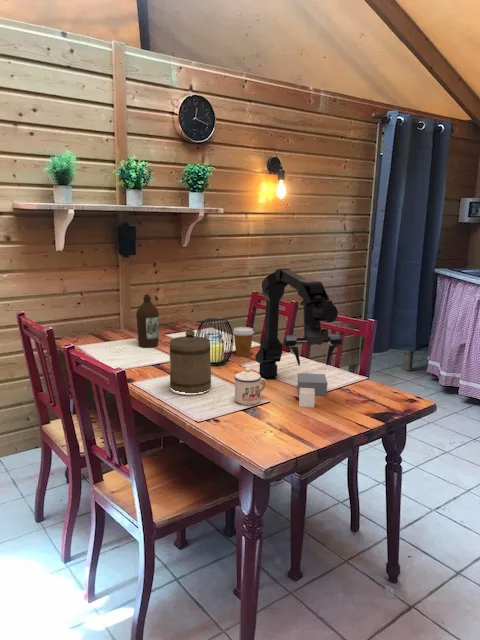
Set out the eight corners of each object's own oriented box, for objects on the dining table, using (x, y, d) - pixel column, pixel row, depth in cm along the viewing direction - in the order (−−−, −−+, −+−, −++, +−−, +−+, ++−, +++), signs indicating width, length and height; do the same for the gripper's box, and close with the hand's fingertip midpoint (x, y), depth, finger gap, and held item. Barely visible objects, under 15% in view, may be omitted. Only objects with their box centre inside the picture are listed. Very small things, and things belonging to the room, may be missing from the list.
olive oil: (133, 345, 240) (131, 294, 235) (151, 341, 247) (150, 291, 242) (145, 349, 233) (143, 296, 227) (164, 345, 240) (162, 294, 235)
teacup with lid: (242, 407, 165) (242, 374, 162) (229, 398, 172) (229, 366, 170) (272, 401, 170) (273, 368, 168) (258, 393, 178) (259, 361, 176)
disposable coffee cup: (257, 354, 227) (257, 328, 225) (246, 359, 219) (246, 332, 217) (239, 350, 232) (240, 325, 230) (228, 355, 224) (228, 329, 222)
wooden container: (188, 379, 192) (188, 324, 187) (219, 387, 184) (219, 329, 179) (161, 390, 180) (160, 331, 175) (192, 399, 172) (192, 337, 167)
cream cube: (299, 406, 166) (299, 392, 165) (299, 401, 171) (299, 387, 170) (314, 407, 166) (314, 393, 165) (313, 402, 170) (314, 388, 169)
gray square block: (298, 395, 177) (298, 382, 176) (297, 385, 187) (297, 373, 186) (326, 396, 176) (327, 383, 175) (324, 386, 186) (324, 374, 185)
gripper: (285, 323, 157) (286, 371, 159) (344, 321, 156) (345, 370, 158) (283, 319, 168) (284, 364, 170) (339, 317, 167) (339, 362, 169)
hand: (312, 365), depth 166 cm, fingers open, 9 cm apart
